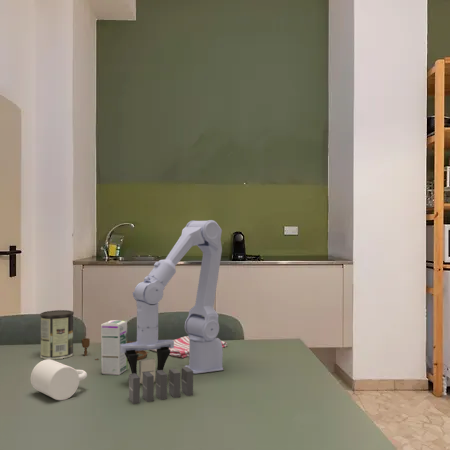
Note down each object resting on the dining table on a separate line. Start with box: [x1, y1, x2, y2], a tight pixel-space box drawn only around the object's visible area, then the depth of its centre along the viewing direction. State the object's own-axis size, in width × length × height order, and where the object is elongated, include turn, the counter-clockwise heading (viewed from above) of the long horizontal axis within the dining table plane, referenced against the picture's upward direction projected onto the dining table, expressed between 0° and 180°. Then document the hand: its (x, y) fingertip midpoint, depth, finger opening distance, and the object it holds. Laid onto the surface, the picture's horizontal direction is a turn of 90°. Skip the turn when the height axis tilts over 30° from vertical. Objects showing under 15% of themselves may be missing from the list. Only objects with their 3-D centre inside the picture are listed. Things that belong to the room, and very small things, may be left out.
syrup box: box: [100, 319, 129, 376], centre depth 141 cm, size 6×6×14 cm
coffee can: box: [40, 309, 74, 361], centre depth 159 cm, size 10×10×14 cm
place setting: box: [81, 337, 149, 362], centre depth 161 cm, size 18×20×6 cm
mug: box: [30, 359, 88, 401], centre depth 123 cm, size 12×10×8 cm
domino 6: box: [180, 366, 194, 397], centre depth 123 cm, size 2×4×6 cm, turn 25°
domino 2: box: [138, 357, 156, 385], centre depth 132 cm, size 2×4×6 cm, turn 115°
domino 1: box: [128, 373, 141, 405], centre depth 117 cm, size 2×4×6 cm, turn 25°
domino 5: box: [168, 368, 181, 399], centre depth 122 cm, size 2×4×6 cm, turn 25°
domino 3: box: [141, 372, 155, 403], centre depth 119 cm, size 2×4×6 cm, turn 25°
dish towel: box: [150, 335, 228, 359], centre depth 170 cm, size 17×23×4 cm
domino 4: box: [155, 369, 168, 401], centre depth 120 cm, size 2×4×6 cm, turn 25°
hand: (147, 376), depth 132 cm, fingers open, 6 cm apart
